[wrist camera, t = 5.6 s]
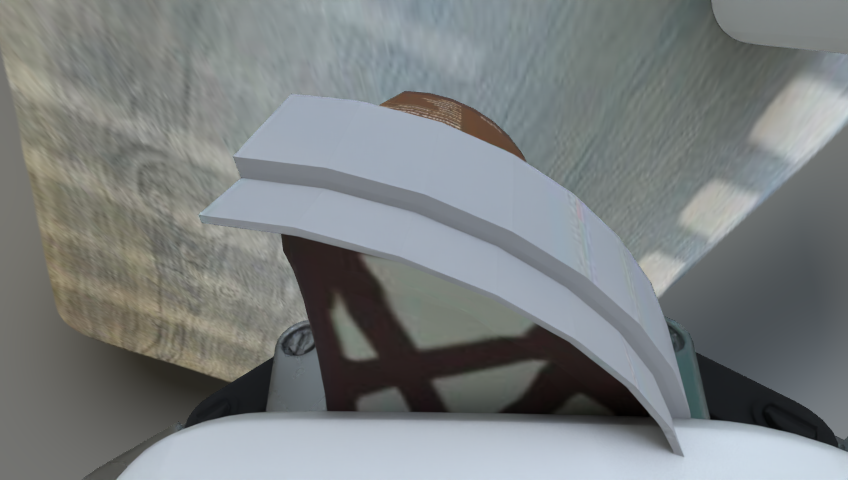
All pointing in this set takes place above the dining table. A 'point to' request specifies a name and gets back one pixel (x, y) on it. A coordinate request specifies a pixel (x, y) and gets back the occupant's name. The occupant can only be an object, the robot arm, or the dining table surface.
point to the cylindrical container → (786, 23)
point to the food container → (450, 266)
